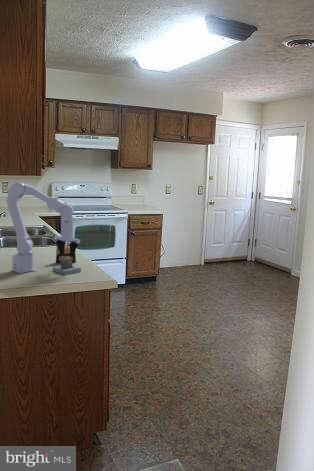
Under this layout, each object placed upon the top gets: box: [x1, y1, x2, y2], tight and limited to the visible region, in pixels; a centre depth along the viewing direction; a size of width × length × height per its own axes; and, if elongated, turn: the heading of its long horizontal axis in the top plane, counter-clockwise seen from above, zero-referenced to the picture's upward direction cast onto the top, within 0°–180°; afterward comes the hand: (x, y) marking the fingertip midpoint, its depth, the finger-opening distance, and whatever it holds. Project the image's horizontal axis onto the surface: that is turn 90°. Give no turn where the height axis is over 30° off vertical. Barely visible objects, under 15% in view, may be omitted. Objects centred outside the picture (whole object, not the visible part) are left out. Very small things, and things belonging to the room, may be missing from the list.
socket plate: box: [52, 264, 82, 276], centre depth 209 cm, size 10×10×2 cm
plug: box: [60, 257, 73, 269], centre depth 208 cm, size 4×4×7 cm
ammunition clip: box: [55, 242, 77, 264], centre depth 227 cm, size 11×2×12 cm, turn 113°
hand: (67, 255), depth 208 cm, fingers open, 6 cm apart
